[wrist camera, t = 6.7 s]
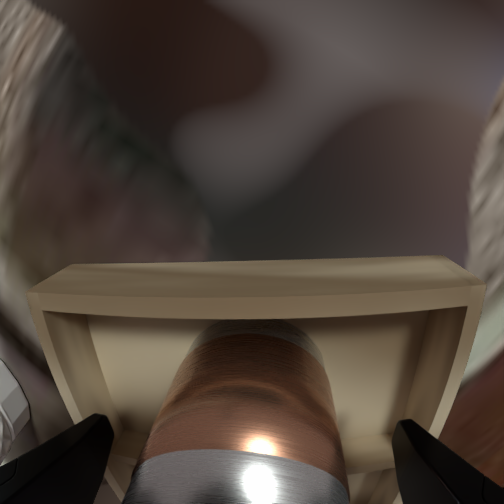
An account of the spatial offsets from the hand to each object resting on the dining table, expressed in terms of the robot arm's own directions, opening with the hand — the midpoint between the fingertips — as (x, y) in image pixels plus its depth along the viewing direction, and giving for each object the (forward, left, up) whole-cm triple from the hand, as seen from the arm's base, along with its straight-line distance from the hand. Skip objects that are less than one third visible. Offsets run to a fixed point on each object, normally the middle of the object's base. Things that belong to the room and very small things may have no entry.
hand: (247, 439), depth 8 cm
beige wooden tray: (-4, 0, -4) cm, 6 cm away
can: (0, 0, -3) cm, 3 cm away
